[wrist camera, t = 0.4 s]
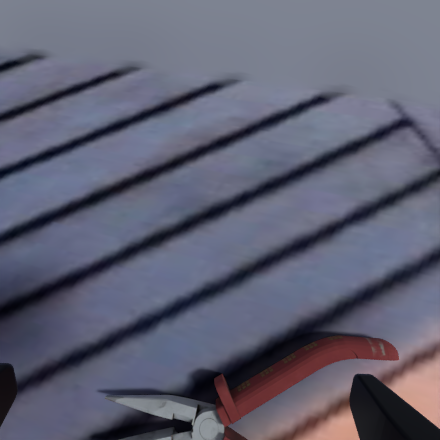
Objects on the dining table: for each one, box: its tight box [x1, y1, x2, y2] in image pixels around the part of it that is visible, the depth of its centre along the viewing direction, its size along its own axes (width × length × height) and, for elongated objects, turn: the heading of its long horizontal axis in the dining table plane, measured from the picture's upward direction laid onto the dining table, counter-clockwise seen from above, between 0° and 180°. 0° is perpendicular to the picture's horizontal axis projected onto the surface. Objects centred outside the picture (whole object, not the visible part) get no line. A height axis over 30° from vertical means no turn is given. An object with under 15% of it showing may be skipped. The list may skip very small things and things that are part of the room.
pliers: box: [105, 335, 399, 440], centre depth 20 cm, size 12×20×3 cm, turn 89°
